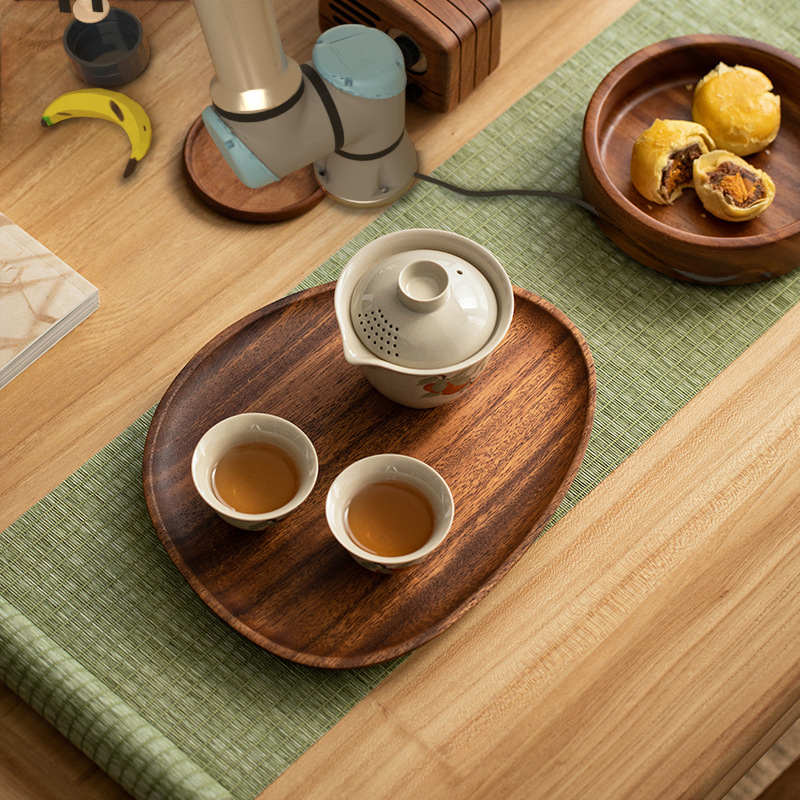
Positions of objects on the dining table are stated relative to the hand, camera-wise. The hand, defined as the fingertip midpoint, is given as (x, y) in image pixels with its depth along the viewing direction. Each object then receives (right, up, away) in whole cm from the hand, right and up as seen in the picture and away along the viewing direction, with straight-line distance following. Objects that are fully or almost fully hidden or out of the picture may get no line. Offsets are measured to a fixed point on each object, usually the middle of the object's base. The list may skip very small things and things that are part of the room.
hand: (81, 11), depth 129 cm
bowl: (-1, -1, +16) cm, 16 cm away
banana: (-1, -15, +10) cm, 18 cm away
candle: (0, +2, +5) cm, 5 cm away
